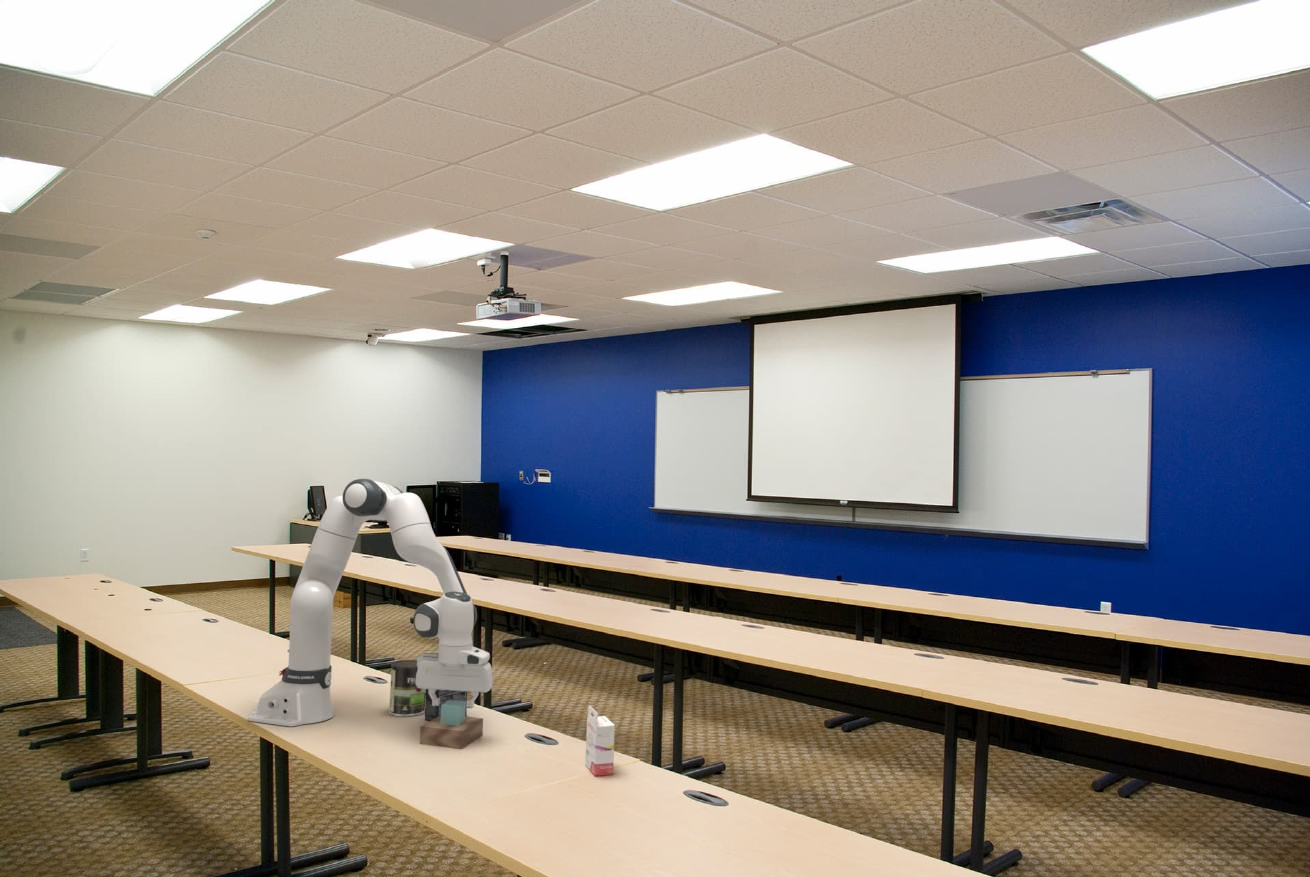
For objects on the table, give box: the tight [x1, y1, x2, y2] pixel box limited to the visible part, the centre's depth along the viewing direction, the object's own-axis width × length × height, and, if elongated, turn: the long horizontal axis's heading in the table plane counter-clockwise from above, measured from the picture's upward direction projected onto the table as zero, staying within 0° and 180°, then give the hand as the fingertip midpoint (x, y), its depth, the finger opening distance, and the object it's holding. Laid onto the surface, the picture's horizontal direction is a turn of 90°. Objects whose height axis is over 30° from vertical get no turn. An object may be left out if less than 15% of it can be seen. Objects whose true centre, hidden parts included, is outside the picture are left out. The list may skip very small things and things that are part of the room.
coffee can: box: [388, 659, 426, 718], centre depth 250 cm, size 10×10×14 cm
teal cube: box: [441, 700, 466, 726], centre depth 226 cm, size 5×5×5 cm
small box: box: [424, 689, 468, 722], centre depth 245 cm, size 11×6×10 cm, turn 141°
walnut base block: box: [419, 715, 484, 750], centre depth 226 cm, size 12×12×5 cm
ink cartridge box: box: [584, 705, 616, 777], centre depth 207 cm, size 9×5×15 cm, turn 21°
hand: (453, 706), depth 226 cm, fingers open, 8 cm apart
